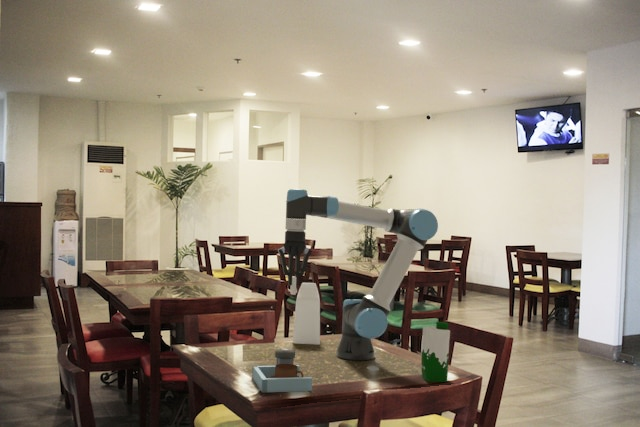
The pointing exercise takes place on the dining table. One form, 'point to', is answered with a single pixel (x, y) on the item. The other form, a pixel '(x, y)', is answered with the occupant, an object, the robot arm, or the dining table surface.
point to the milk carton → (435, 352)
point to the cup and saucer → (286, 371)
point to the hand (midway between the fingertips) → (292, 294)
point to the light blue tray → (279, 379)
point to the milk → (307, 315)
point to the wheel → (285, 354)
